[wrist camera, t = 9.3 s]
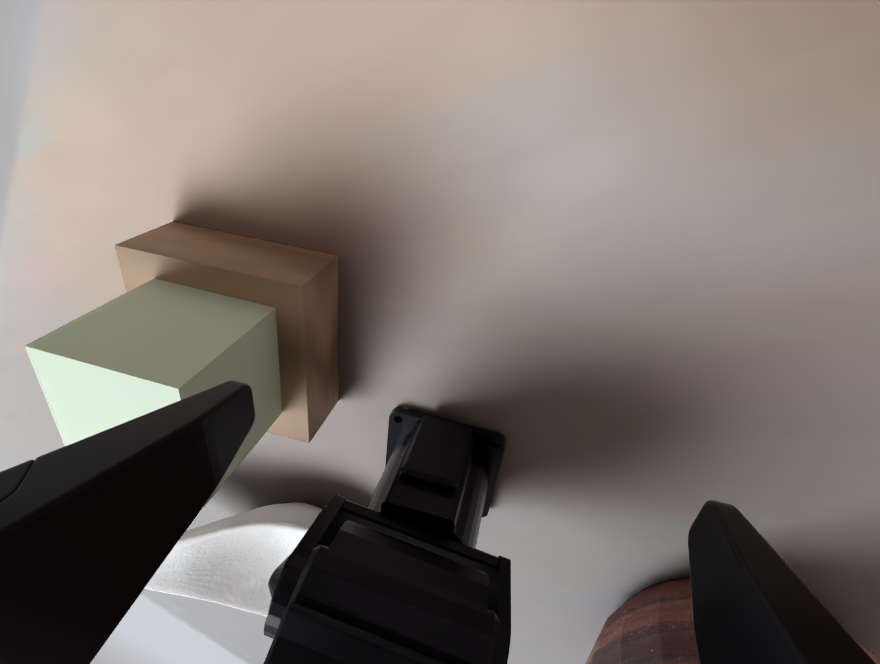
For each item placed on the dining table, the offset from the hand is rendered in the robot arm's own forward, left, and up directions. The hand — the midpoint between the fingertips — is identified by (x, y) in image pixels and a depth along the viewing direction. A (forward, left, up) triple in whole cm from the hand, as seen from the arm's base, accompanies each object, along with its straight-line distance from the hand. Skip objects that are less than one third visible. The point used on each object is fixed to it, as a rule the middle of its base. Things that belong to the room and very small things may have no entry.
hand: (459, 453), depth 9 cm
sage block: (-7, +13, -9) cm, 17 cm away
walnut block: (-7, +13, -13) cm, 20 cm away
